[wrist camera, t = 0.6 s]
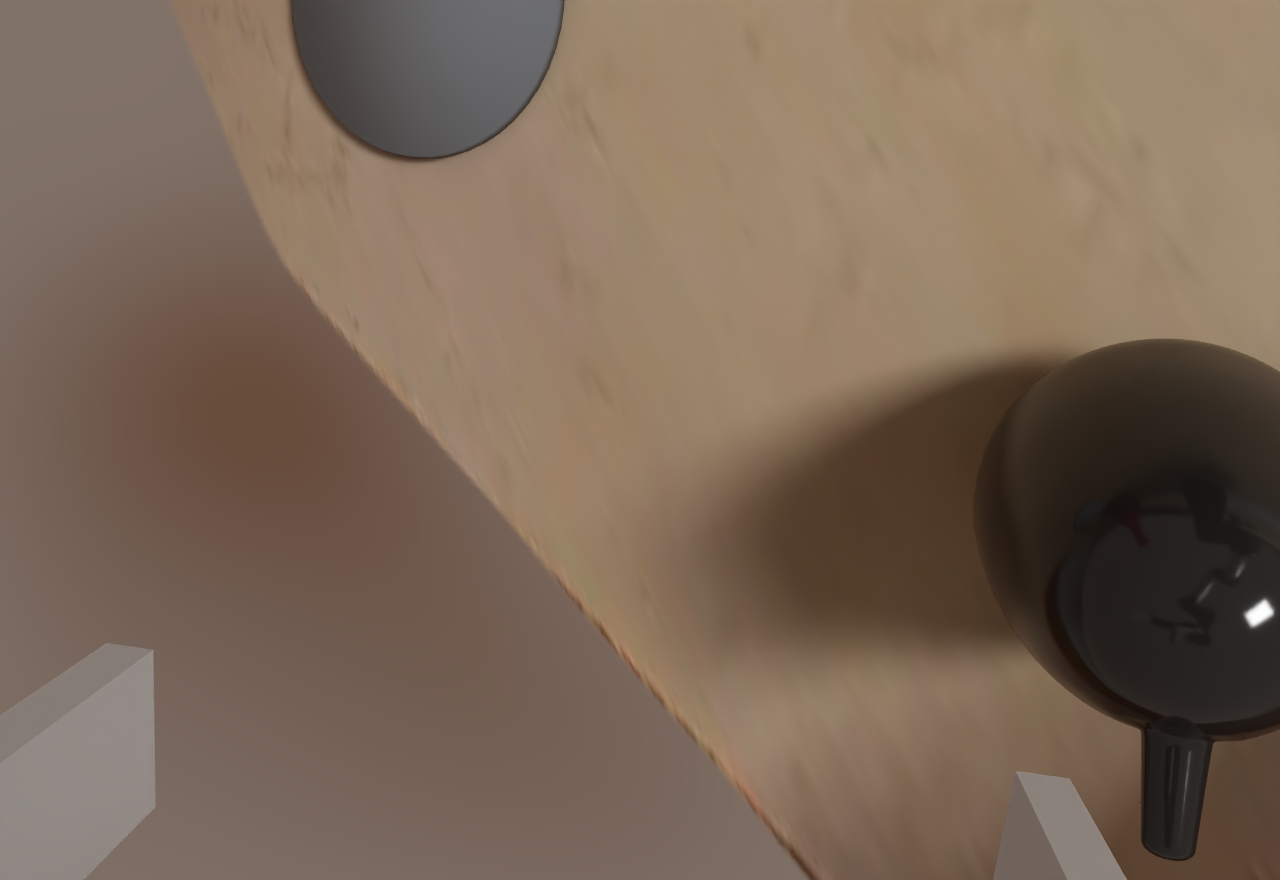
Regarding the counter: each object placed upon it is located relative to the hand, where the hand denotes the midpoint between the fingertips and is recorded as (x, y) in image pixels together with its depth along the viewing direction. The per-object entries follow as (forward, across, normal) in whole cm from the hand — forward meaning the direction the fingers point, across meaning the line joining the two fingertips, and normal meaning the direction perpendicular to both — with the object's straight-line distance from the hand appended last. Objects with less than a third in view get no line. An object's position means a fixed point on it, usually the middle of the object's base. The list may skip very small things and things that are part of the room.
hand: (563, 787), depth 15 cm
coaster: (+28, -12, +15) cm, 34 cm away
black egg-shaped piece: (+21, +16, +1) cm, 26 cm away
